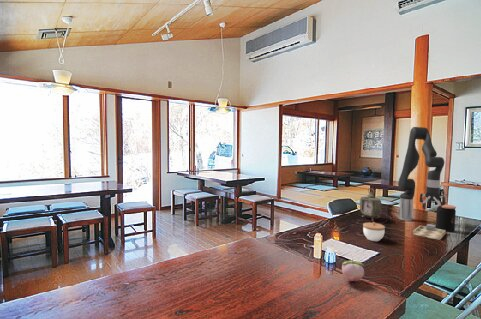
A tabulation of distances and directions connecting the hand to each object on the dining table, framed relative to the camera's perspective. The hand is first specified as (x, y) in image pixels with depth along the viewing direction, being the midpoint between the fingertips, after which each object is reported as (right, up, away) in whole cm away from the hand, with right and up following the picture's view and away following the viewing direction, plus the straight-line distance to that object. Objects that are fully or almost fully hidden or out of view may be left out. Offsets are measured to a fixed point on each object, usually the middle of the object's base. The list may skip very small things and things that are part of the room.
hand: (431, 209), depth 187 cm
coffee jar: (+14, -16, +7) cm, 23 cm away
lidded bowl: (-45, -17, -12) cm, 50 cm away
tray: (-3, -17, -2) cm, 17 cm away
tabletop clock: (-25, -14, +36) cm, 46 cm away
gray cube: (0, -16, +1) cm, 16 cm away
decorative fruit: (-81, -20, -65) cm, 106 cm away
